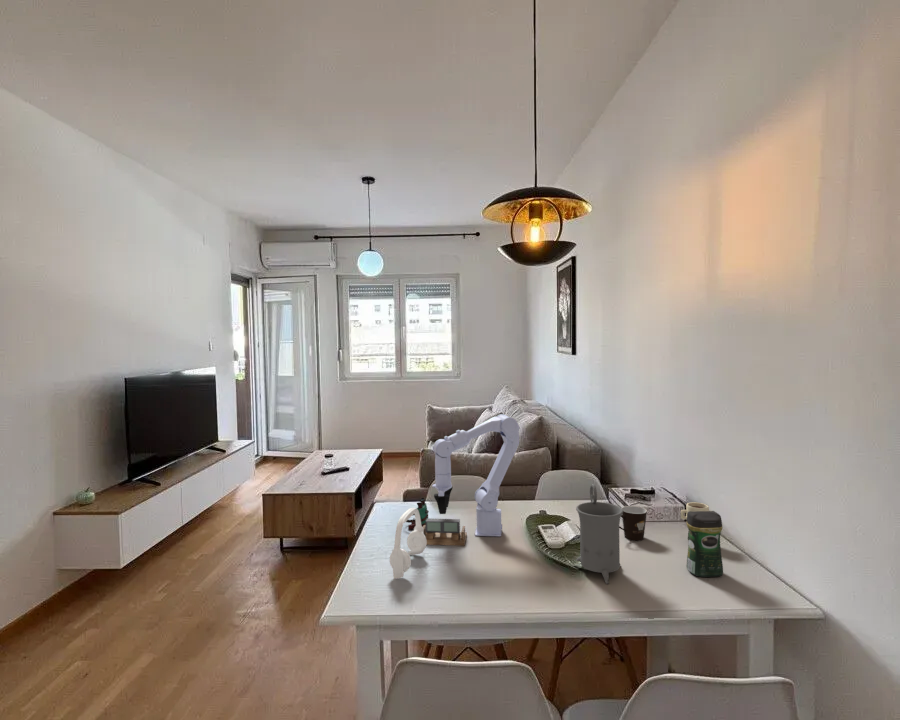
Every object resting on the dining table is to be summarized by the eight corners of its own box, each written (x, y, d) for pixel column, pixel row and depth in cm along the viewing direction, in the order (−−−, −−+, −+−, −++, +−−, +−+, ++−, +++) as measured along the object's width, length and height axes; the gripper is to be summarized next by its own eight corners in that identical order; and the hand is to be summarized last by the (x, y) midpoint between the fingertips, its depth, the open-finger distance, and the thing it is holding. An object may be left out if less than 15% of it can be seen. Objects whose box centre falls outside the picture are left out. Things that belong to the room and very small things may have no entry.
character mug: (710, 539, 185) (710, 502, 184) (717, 547, 178) (717, 509, 177) (678, 537, 186) (678, 501, 186) (683, 545, 179) (683, 507, 179)
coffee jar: (714, 566, 163) (714, 507, 162) (727, 578, 155) (727, 515, 154) (682, 567, 163) (682, 507, 162) (693, 578, 155) (693, 516, 154)
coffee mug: (643, 533, 191) (643, 506, 191) (649, 542, 183) (649, 513, 182) (610, 532, 193) (610, 505, 192) (615, 541, 184) (615, 513, 184)
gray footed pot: (633, 584, 152) (633, 498, 151) (581, 584, 152) (581, 499, 152) (614, 557, 171) (614, 481, 170) (568, 557, 171) (568, 481, 170)
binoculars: (405, 497, 207) (429, 496, 205) (408, 524, 207) (432, 523, 205) (398, 504, 198) (424, 503, 196) (401, 532, 199) (427, 531, 197)
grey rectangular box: (460, 530, 189) (459, 519, 189) (459, 533, 186) (459, 522, 186) (427, 529, 191) (426, 518, 191) (425, 532, 188) (425, 521, 187)
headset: (407, 582, 156) (406, 522, 155) (385, 579, 158) (384, 520, 157) (429, 555, 175) (428, 502, 175) (409, 553, 177) (408, 500, 177)
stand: (466, 535, 193) (466, 524, 192) (464, 545, 183) (464, 534, 183) (423, 533, 195) (423, 523, 194) (418, 544, 185) (418, 533, 184)
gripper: (434, 467, 198) (435, 503, 198) (429, 478, 183) (430, 516, 184) (453, 468, 197) (454, 503, 198) (449, 478, 183) (450, 517, 183)
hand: (443, 510), depth 191 cm, fingers open, 7 cm apart
